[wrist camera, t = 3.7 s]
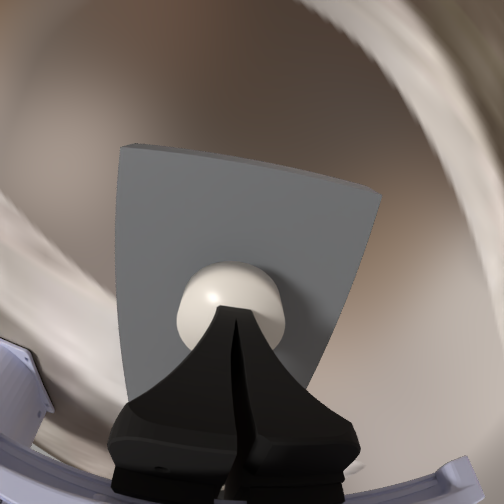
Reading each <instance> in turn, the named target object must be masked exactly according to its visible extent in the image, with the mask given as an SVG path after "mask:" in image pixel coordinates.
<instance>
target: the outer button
mask: <svg viewBox="0 0 504 504" xmlns="http://www.w3.org/2000/svg"><path fill="white" fill-rule="evenodd" d="M219 305H223V306H230V307H236V308H244V309H251V311H252V312H253V314H254V317H255V319H256V321H257V323H258V325H259V327H260V329H261V331H262V333H263V335H264V337H265V338H266V340H267V342H268V343H269V345H270V347H271V348H272V350H273V349H275V347H276V346H277V345H278V344H279V342H280V340H281V339H282V336H283V334H284V330H285V317H284V312H283V307H282V303H281V298H280V294H279V290H278V288H277V286H276V284H275V283H274V281H273V280H272V279H271V278H270V276H269V275H267V274H266V273H265V272H264V271H262V270H261V269H259V268H257V267H255V266H253V265H250V264H247V263H243V262H237V261H224V262H218V263H214V264H211V265H208V266H206V267H204V268H202V269H201V270H199V271H198V272H197V273H195V274H194V275H193V276H192V277H191V279H190V280H189V281H188V283H187V285H186V287H185V290H184V293H183V296H182V300H181V303H180V306H179V310H178V313H177V329H178V332H179V335H180V337H181V339H182V341H183V342H184V343H185V345H186V346H187V347H188V348H189V349H190V350H191V351H192V350H193V349H194V347H195V346H196V345H197V343H198V342H199V341H200V339H201V338H202V336H203V335H204V333H205V332H206V330H207V328H208V327H209V325H210V323H211V321H212V319H213V317H214V315H215V312H216V309H217V307H218V306H219Z"/></svg>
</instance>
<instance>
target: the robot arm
mask: <svg viewBox="0 0 504 504" xmlns="http://www.w3.org/2000/svg"><path fill="white" fill-rule="evenodd" d="M47 411H48V412H50V413H54V411H55V409H54V407H53V405H52V403H51V401H50V399H49V397H48V394H47V392H46V390H45V388H44V385H43V383H42V381H41V378H40V376H39V374H38V371H37V369H36V366H35V363H34V361H33V358H32V355H31V353H30V352H29V351H28V350H27V349H25V348H22V347H20V346H17V345H15V344H13V343H10V342H8V341H6V340H3V339H1V338H0V504H476V503H478V502H480V501H481V500H483V499H484V497H485V496H484V493H483V490H482V488H481V486H480V484H479V481H478V479H477V477H476V474H475V472H474V470H473V467H472V465H471V463H470V461H469V459H468V457H467V456H466V455H465V456H463V457H460V458H458V459H455V460H452V461H450V462H448V463H446V464H444V465H443V466H442V467H440V468H439V469H438V470H437V471H436V472H435V473H432V474H430V475H426V476H423V477H420V478H417V479H414V480H410V481H407V482H403V483H399V484H395V485H392V486H387V487H383V488H379V489H374V490H370V491H364V492H360V493H353V494H347V495H344V492H343V488H342V484H341V483H343V482H344V480H345V477H344V473H343V471H344V470H345V469H346V468H347V467H348V466H349V465H350V464H351V463H352V462H353V461H354V460H355V459H356V458H357V456H358V455H359V453H360V450H361V448H360V444H359V441H358V438H357V435H356V432H355V430H354V428H353V425H352V423H351V422H349V421H348V420H346V419H344V418H343V417H341V416H340V415H338V414H336V413H335V412H333V411H331V410H330V409H329V408H327V407H326V406H325V405H324V404H322V403H321V402H320V401H318V400H317V399H316V398H315V397H313V396H312V395H311V394H310V393H309V392H308V391H307V390H306V389H305V388H304V387H302V386H301V385H300V384H299V383H298V382H297V381H296V380H295V379H294V377H293V376H292V375H291V374H290V373H289V372H288V370H287V369H286V368H285V367H284V365H283V364H282V363H281V361H280V360H279V359H278V357H277V356H276V354H275V353H274V351H273V350H272V348H271V347H270V345H269V343H268V342H267V340H266V338H265V337H264V335H263V333H262V331H261V329H260V327H259V325H258V323H257V321H256V319H255V317H254V314H253V312H252V311H251V309H244V308H236V307H230V306H223V305H219V306H218V307H217V309H216V312H215V315H214V317H213V319H212V321H211V323H210V325H209V327H208V328H207V330H206V332H205V333H204V335H203V336H202V338H201V339H200V341H199V342H198V343H197V345H196V346H195V347H194V349H193V350H192V351H191V352H190V353H189V355H188V356H187V357H186V358H185V359H184V360H183V361H182V362H181V363H180V364H179V365H178V366H177V367H176V368H175V369H174V370H173V371H172V372H171V373H170V374H169V375H167V376H166V377H165V378H164V379H163V380H161V381H160V382H159V383H157V384H156V385H155V386H153V387H152V388H151V389H149V390H148V391H146V392H145V393H143V394H141V395H140V396H138V397H136V398H135V399H133V400H131V401H130V402H128V403H126V405H125V406H124V408H123V409H122V411H121V412H120V414H119V415H118V417H117V419H116V421H115V423H114V425H113V427H112V430H111V433H110V436H109V440H108V443H107V446H108V450H109V453H110V455H111V457H112V459H113V462H114V464H115V470H114V474H113V478H112V480H110V479H107V478H104V477H100V476H97V475H94V474H91V473H88V472H85V471H83V470H80V469H77V468H74V467H72V466H69V465H67V464H64V463H62V462H59V461H57V460H54V459H52V458H50V457H47V456H45V455H43V454H41V453H39V452H37V451H34V450H32V449H30V447H31V445H32V443H33V440H34V438H35V436H36V433H37V431H38V429H39V427H40V424H41V422H42V420H43V418H44V416H45V414H46V412H47ZM224 484H225V487H224V500H219V499H217V498H218V496H219V493H220V491H221V488H222V486H224Z"/></svg>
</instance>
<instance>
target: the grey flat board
mask: <svg viewBox="0 0 504 504" xmlns="http://www.w3.org/2000/svg"><path fill="white" fill-rule="evenodd" d="M381 198H382V195H381V194H379V193H378V192H376V191H374V190H372V189H371V188H369V187H367V186H364V185H361V184H358V183H354V182H350V181H346V180H342V179H339V178H334V177H330V176H327V175H322V174H318V173H314V172H310V171H305V170H301V169H296V168H292V167H287V166H282V165H278V164H272V163H268V162H263V161H257V160H252V159H246V158H241V157H235V156H229V155H223V154H217V153H211V152H204V151H197V150H189V149H182V148H174V147H166V146H157V145H147V144H138V143H135V144H130V145H127V146H122V147H120V157H119V167H118V181H117V196H116V218H115V219H116V221H115V275H116V298H117V313H118V325H119V336H120V346H121V354H122V362H123V369H124V376H125V383H126V389H127V395H128V401H129V402H130V401H131V400H133V399H135V398H136V397H138V396H140V395H141V394H143V393H145V392H146V391H148V390H149V389H151V388H152V387H153V386H155V385H156V384H157V383H159V382H160V381H161V380H163V379H164V378H165V377H166V376H167V375H169V374H170V373H171V372H172V371H173V370H174V369H175V368H176V367H177V366H178V365H179V364H180V363H181V362H182V361H183V360H184V359H185V358H186V357H187V356H188V355H189V353H190V352H191V350H190V349H189V348H188V347H187V346H186V345H185V343H184V342H183V341H182V339H181V337H180V335H179V332H178V329H177V313H178V310H179V306H180V303H181V300H182V296H183V293H184V290H185V287H186V285H187V283H188V281H189V280H190V279H191V277H192V276H193V275H194V274H195V273H197V272H198V271H199V270H201V269H202V268H204V267H206V266H208V265H211V264H214V263H218V262H224V261H237V262H243V263H247V264H250V265H253V266H255V267H257V268H259V269H261V270H262V271H264V272H265V273H266V274H267V275H269V276H270V278H271V279H272V280H273V281H274V283H275V284H276V286H277V288H278V290H279V294H280V298H281V303H282V307H283V312H284V317H285V330H284V334H283V336H282V339H281V340H280V342H279V344H278V345H277V346H276V347H275V349H273V351H274V353H275V354H276V356H277V357H278V359H279V360H280V361H281V363H282V364H283V365H284V367H285V368H286V369H287V370H288V372H289V373H290V374H291V375H292V376H293V377H294V379H295V380H296V381H297V382H298V383H299V384H300V385H301V386H302V387H304V388H305V389H306V388H307V386H308V384H309V382H310V380H311V378H312V376H313V374H314V372H315V370H316V368H317V366H318V363H319V361H320V359H321V357H322V355H323V353H324V350H325V348H326V346H327V344H328V342H329V339H330V337H331V335H332V333H333V330H334V328H335V325H336V323H337V321H338V318H339V316H340V314H341V311H342V309H343V306H344V304H345V302H346V299H347V296H348V294H349V291H350V289H351V286H352V284H353V281H354V278H355V276H356V273H357V270H358V267H359V265H360V262H361V259H362V257H363V254H364V250H365V248H366V245H367V242H368V239H369V236H370V233H371V230H372V227H373V224H374V221H375V217H376V214H377V211H378V208H379V205H380V201H381Z"/></svg>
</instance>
